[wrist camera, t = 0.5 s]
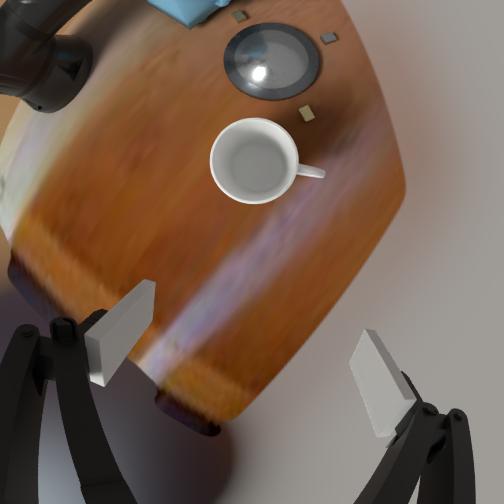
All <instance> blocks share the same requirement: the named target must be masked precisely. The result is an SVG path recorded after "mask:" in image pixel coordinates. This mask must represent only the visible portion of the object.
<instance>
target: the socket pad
mask: <svg viewBox="0 0 504 504" xmlns="http://www.w3.org/2000/svg"><path fill="white" fill-rule="evenodd" d="M231 14H232V16H233V18H234V19H235V20H236V21H237V23H238V24H239V23H241V22H243V21H246V20H247V19H246V17H245V15H244V14H243V13H242V12H241V11H240V10H238V11H236V12H233V13H231ZM320 39H321V40H322V42H323V43H324V44H325V45H326V44H329V43H332V42H336V40H337V38H336V37H335V35H334V34H333V33H332V32H331V33H328V34H324V35H321V36H320ZM224 67H225V70H226V73H227V76H228V77H229V79H230V81H231V82H232V83H233V85H234V86H235V87H236V88H237V89H239V90H240V91H241V92H243V93H245V94H246V95H248V96H251V97H253V98H256V99H260V100H267V101H279V100H285V99H289V98H292V97H295V96H297V95H299V94H300V93H302V92H303V91H305V90H306V89H307V88H308V87H309V86H310V85H311V83H312V82H313V80H314V79H315V77H316V74H317V72H318V67H319V58H318V54H317V51H316V48H315V46H314V45H313V43H312V42H311V41H310V40H309V38H308V37H306V36H305V35H304V34H303V33H301V32H300V31H298V30H297V29H295V28H292V27H290V26H287V25H284V24H278V23H261V24H256V25H253V26H250V27H247V28H245V29H243V30H242V31H240V32H239V33H237V34H236V35H235V36H234V37H233V38H232V39H231V40H230V42H229V43H228V45H227V47H226V49H225V53H224ZM298 111H299V113H300V115H301V116H302V118H303V120H304V122H305V123H306V122H308V121H310V120H313V119H314V118H315V116H314V115H313V113H312V111H311V110H310V108H309V106H308V105H306V106H304V107H302V108H300V109H298Z"/></svg>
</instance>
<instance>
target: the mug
mask: <svg viewBox="0 0 504 504" xmlns="http://www.w3.org/2000/svg"><path fill="white" fill-rule="evenodd" d="M210 167H211V172H212V175H213V178H214V180H215V182H216V183H217V185H218V186H219V188H220V189H221V190H222V191H223V192H224V193H225V194H227V195H228V196H229V197H231V198H233V199H235V200H237V201H240V202H243V203H248V204H260V203H265V202H269V201H271V200H274V199H276V198H277V197H279V196H281V195H282V194H283V193H284V192H285V191H286V190H287V189H288V188H289V187H290V186H291V184H292V183H293V181H294V179H295V177H296V174H298V175H304V176H311V177H318V178H324V177H325V171H324V170H322V169H319V168H316V167H312V166H307V165H303V164H299V158H298V151H297V148H296V145H295V143H294V141H293V139H292V137H291V136H290V135H289V133H288V132H287V131H286V130H285V129H284V128H282V127H281V126H280V125H278V124H276V123H274V122H272V121H270V120H267V119H262V118H246V119H242V120H239V121H236V122H234V123H232V124H231V125H229V126H228V127H226V128H225V129H224V130H223V131H222V132H221V133H220V134H219V136H218V137H217V138H216V140H215V142H214V144H213V147H212V150H211V154H210Z"/></svg>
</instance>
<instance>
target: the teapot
mask: <svg viewBox="0 0 504 504" xmlns="http://www.w3.org/2000/svg"><path fill="white" fill-rule="evenodd" d="M147 1H148V3H149V4H150V5H151V6H152V7H154V8H156V9H158V10H160V11H161V12H163V13H165V14H166V15H168V16H170V17H171V18H173V19H175V20H176V21H178V22H179V23H181V24H182V25H184V26H185V27H187V28H189V29H190V30H191V29H192V28H193V27H195V26H196V25H197V24H198V23H201V22H203V21H205V20H206V19H207V17H208V16H209V15H210V14H212V13H213V12H214V11H216V10H217V9H219V8H220V7H224V6H226V5H228V4H229V2H230V1H232V0H147Z"/></svg>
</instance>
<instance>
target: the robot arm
mask: <svg viewBox="0 0 504 504" xmlns="http://www.w3.org/2000/svg"><path fill="white" fill-rule="evenodd" d="M91 1H92V0H6V1H5V3H4V4H3V5H2V6H1V7H0V94H4V95H10V96H15V97H19V98H21V99H22V100H23V101H24V102H25V103H27V104H28V105H29V106H30V107H32V108H33V109H34V110H36V111H39V112H44V113H53V112H56V111H58V110H60V109H62V108H63V107H65V106H66V105H67V104H68V103H69V102H70V101H71V100H72V99H73V98H74V97H75V96H76V95H77V93H78V92H79V90H80V89H81V87H82V86H83V84H84V82H85V80H86V78H87V76H88V74H89V71H90V68H91V64H92V56H93V55H92V49H91V46H90V44H89V43H88V42H87V41H85V40H83V39H82V38H80V37H78V36H71V35H55V33H57V32H58V31H59V30H60V28H62V27H63V26H64V25H65V24H66V23H67V22H68V21H69V20H70V19H71V18H72V17H73V16H74V15H76V14H77V13H78V12H79V11H80V10H81V9H82V8H84V7H85V6H86V5H87V4H88V3H90V2H91ZM155 284H156V282H153V281H149V280H146V279H144V280H143V281H141V282H140V283H139V284H138V285H137V286H136V287H135V288H134V289H132V290H131V291H130V292H129V293H128V294H127V295H126V296H125V297H124V298H122V299H121V300H120V301H119V302H118V303H117V304H116V305H115V306H114V307H113V308H112V309H110V310H109V311H107V310H104V309H100V310H97V311H95V312H93V313H92V314H91V315H90V316H89V317H87V318H86V319H85V320H84V321H83V322H82V323H81V324H80V325H77V323H76V321H75V320H74V319H72V318H69V317H57V318H55V319H53V320H52V321H51V322H50V325H49V326H50V333H51V338H48V337H44V336H40V333H39V330H38V328H37V327H36V326H34V325H31V324H24V325H21V326H19V327H18V328H17V329H16V330H15V332H14V334H13V336H12V339H11V341H10V343H9V345H8V348H7V350H6V352H5V354H4V357H3V359H2V362H1V364H0V504H39V503H38V501H39V500H38V455H39V439H40V430H41V421H42V414H43V406H44V400H45V394H46V389H47V384H48V380H52V381H56V387H57V393H58V400H59V405H60V410H61V416H62V420H63V425H64V429H65V434H66V438H67V442H68V446H69V449H70V453H71V456H72V460H73V463H74V466H75V469H76V472H77V475H78V478H79V481H80V484H81V487H80V488H81V492H82V495H83V497H84V500H85V502H86V504H137V502H136V500H135V498H134V496H133V494H132V492H131V490H130V489H129V487H128V485H127V483H126V481H125V480H124V478H123V476H122V474H121V472H120V471H119V468H118V466H117V463H116V462H115V459H114V456H113V454H112V452H111V449H110V447H109V444H108V442H107V439H106V436H105V434H104V431H103V428H102V425H101V422H100V419H99V416H98V413H97V410H96V407H95V404H94V400H93V397H92V393H91V390H90V386H89V383H88V378H87V374H88V373H90V378H91V381H92V382H95V383H97V384H99V385H101V386H104V387H105V386H106V384H107V382H108V381H109V380H110V378H111V377H112V376H113V374H114V373H115V371H116V370H117V369H118V367H119V366H120V364H121V363H122V361H123V360H124V359H125V357H126V356H127V355H128V353H129V352H130V351H131V349H132V348H133V346H134V345H135V344H136V342H137V341H138V340H139V338H140V337H141V336H142V334H143V333H144V332H145V330H146V329H147V328H148V326H149V325H150V324H151V322H152V319H153V306H154V294H155ZM349 365H350V367H351V370H352V372H353V375H354V377H355V380H356V383H357V385H358V388H359V391H360V393H361V396H362V398H363V401H364V404H365V407H366V409H367V412H368V415H369V417H370V420H371V423H372V426H373V429H374V431H375V434H376V437H388V436H389V435H390V434H391V433H392V432H393V430H394V429H395V430H396V433H397V435H396V436H395V437H394V438H393V439H392V440H391V442H390V443H389V444H388V445H387V446H386V448H388V449H387V451H386V453H385V455H384V457H383V458H382V460H381V462H380V464H379V466H378V467H377V469H376V470H375V472H374V474H373V475H372V477H371V479H370V480H369V482H368V483H367V485H366V486H365V488H364V489H363V491H362V492H361V494H360V495H359V497H358V498H357V499H356V501H355V502H354V504H408V503H409V501H410V498H411V496H412V494H413V491H414V489H415V487H416V485H417V482H418V480H419V477H420V485H419V493H418V499H417V504H476V495H475V493H476V492H475V472H474V461H473V451H472V443H471V436H470V431H469V425H468V419H467V416H466V415H465V413H464V412H463V411H462V410H459V409H451V411H450V412H449V413H448V414H447V415H444V414H439V412H438V410H437V408H436V407H435V406H433V405H432V404H430V403H426V402H423V400H422V398H421V397H420V395H419V394H418V392H417V390H416V389H415V387H414V385H413V384H412V382H411V380H410V378H409V377H408V376H407V375H406V374H405V373H404V372H403V371H400V370H399V368H398V367H397V365H396V363H395V362H394V360H393V358H392V357H391V355H390V353H389V352H388V351H387V349H386V347H385V346H384V344H383V342H382V341H381V339H380V338H379V336H378V334H377V333H376V331H375V330H369V329H365V330H364V332H363V334H362V336H361V338H360V341H359V343H358V345H357V347H356V349H355V351H354V353H353V355H352V358H351V360H350V362H349ZM420 475H421V476H420Z"/></svg>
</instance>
